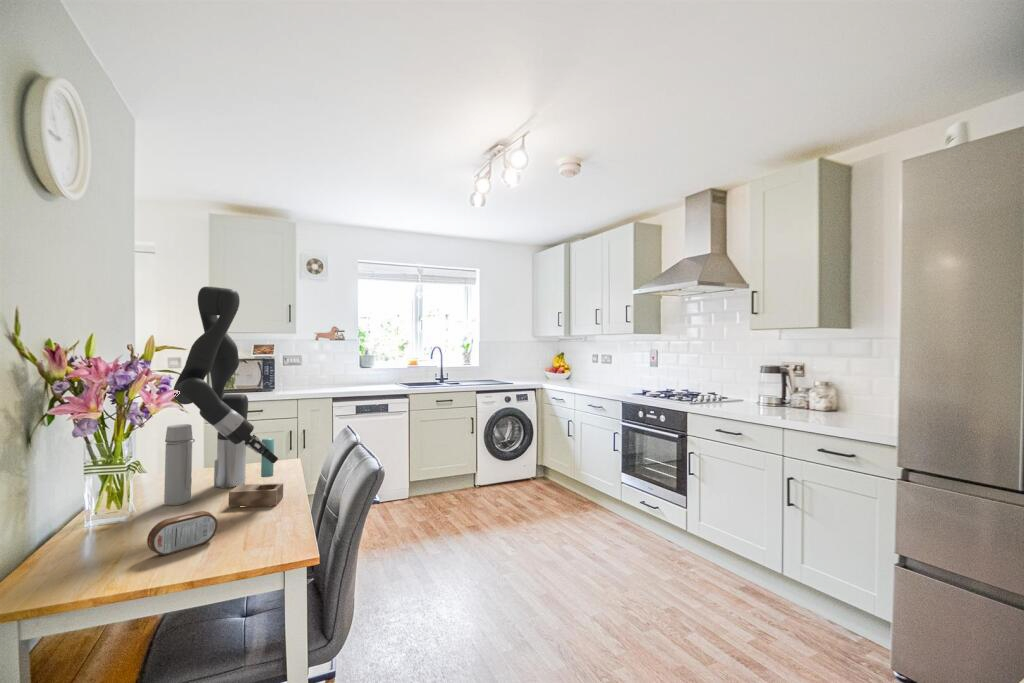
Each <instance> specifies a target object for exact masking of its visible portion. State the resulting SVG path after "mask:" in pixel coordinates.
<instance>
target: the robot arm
mask: <svg viewBox="0 0 1024 683" xmlns="http://www.w3.org/2000/svg"><path fill="white" fill-rule="evenodd" d="M197 307H198V311H199V316H200V319H201V324H202V328H203V332H204V333H202V334H201V335H200V336H199V337H198V338H197V339H196V340H195V341H194V342H193V344H192V345H191V348H190V350H189V352H188V355H187V358H186V362H185V365H184V367H183V369H182V371H181V372H180V374H179V376H178V377H177V379H176V382H175V384H174V385H173V389H174V390H178V391H180V394H179V392H178V394H179V395H178V394H176V393H174V395H175V394H176V396H177V395H178V396H177V397H176V396H175V397H173V399H174V400H175V401H176V400H177V401H178V402H179V403H178V402H177V401H176V402H177V403H178V404H181V405H189V404H194V405H195V406H196V407H197V408H198V409H199V415H200V417H201V418H202V419H204V420H205V421H206V422H208V423H209V424H210V425H211V426H212V427H213V428H214V429H215V430H216V431H217V435H216V436H217V439H216V440H217V443H216V445H217V446H216V447H217V448H216V459H215V460H214V464H213V465H214V469H213V488H220V487H222V488H221V489H223V488H224V489H225V487H226V488H227V487H229V488H235V486H238V485H245V484H244V483H246V470H247V469H246V467H247V464H246V461H247V460H246V458H247V448H248V449H251V450H252V451H253V452H255V453H256V454H259V455H261V457H262V456H263V457H265V458H267V459H268V460H269V461H270V462H272V463H274V464H275V463H276V462H277V461H278V460H279V458H278V456H276V455H275V453H274V454H273V453H271V452H270V450H269V449H267V448H266V447H265V444H264V443H263V442H262V440H260V438H259V437H258V436H256V434H252V433H253V431H254V429H255V426H254V425H253V424H252V423H251V422H249V421H248V411H249V399H248V398H249V397H248V396H247V395H246V394H244V393H240V394H239V393H234V394H232V393H230V394H229V393H227V394H226V393H225V388H226V385H227V383H228V382H229V380H230V379H231V378H232V377H233V376H234V374H235V372H236V371H237V370H238V368H239V365H240V360H239V359H240V358H239V351H238V350H239V349H238V346H237V344H236V342H235V340H233V339H232V337H231V336H230V335H229V333H227V332H228V331H229V329H230V326H231V325H232V323H233V321H234V319H235V317H236V315H237V313H238V311H239V307H240V296H239V293H238V292H237V290H235V289H233V288H227V287H226V288H225V287H218V286H202V287H201V288H200V289H199V291H198V294H197ZM208 374H210V375H209V376H210V379H211V385H210V384H209V383H208V382H206V381H205V379H206V377H207V376H208ZM251 434H252V435H251ZM264 449H266V450H265V451H264V452H263V453H262V451H263V450H264Z"/></svg>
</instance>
